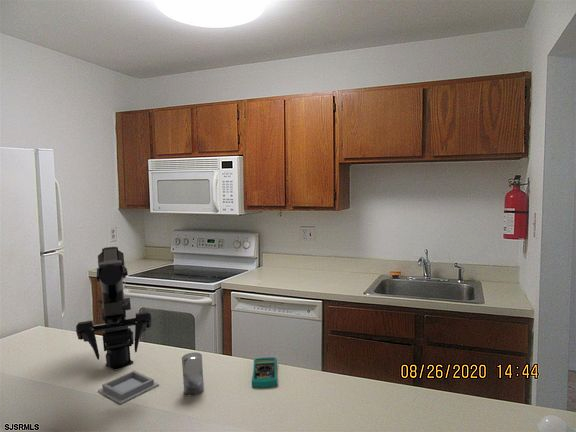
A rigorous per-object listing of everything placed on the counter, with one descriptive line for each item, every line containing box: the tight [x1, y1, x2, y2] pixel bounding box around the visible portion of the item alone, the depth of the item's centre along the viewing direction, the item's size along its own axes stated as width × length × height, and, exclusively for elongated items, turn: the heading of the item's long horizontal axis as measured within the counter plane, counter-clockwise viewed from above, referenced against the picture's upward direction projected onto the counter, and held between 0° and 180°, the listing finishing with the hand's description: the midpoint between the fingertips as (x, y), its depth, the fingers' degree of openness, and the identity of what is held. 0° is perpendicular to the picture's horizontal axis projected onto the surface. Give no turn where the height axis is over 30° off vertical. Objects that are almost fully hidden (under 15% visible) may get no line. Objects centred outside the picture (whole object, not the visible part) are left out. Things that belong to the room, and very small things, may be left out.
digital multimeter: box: [251, 356, 278, 389], centre depth 124 cm, size 7×15×3 cm, turn 2°
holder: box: [97, 370, 160, 405], centre depth 119 cm, size 12×12×2 cm
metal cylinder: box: [181, 352, 205, 397], centre depth 116 cm, size 6×6×10 cm
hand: (117, 355), depth 108 cm, fingers open, 9 cm apart
